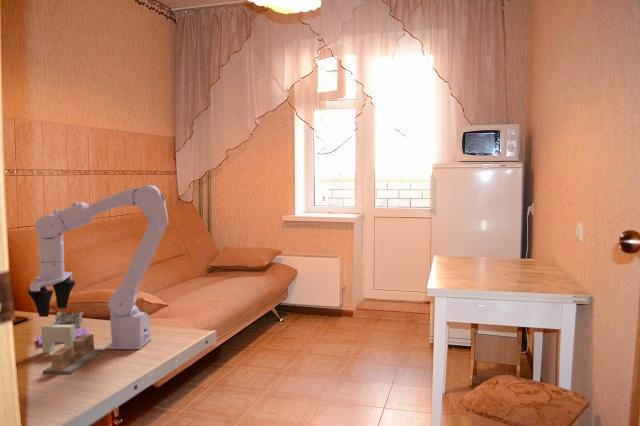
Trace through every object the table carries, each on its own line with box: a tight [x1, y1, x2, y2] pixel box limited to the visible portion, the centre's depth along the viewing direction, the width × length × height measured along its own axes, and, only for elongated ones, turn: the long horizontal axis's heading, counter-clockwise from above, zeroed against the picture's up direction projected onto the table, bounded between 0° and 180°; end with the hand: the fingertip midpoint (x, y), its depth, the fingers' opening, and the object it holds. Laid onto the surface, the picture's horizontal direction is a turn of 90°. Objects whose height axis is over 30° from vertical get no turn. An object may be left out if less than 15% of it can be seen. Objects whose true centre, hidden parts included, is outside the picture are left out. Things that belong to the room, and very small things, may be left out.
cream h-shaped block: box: [40, 324, 76, 354], centre depth 128 cm, size 8×2×7 cm, turn 85°
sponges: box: [37, 327, 90, 348], centre depth 138 cm, size 7×13×2 cm, turn 122°
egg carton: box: [53, 310, 84, 330], centre depth 150 cm, size 11×8×4 cm
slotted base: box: [42, 333, 104, 375], centre depth 121 cm, size 14×7×5 cm, turn 175°
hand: (53, 312), depth 128 cm, fingers open, 7 cm apart
